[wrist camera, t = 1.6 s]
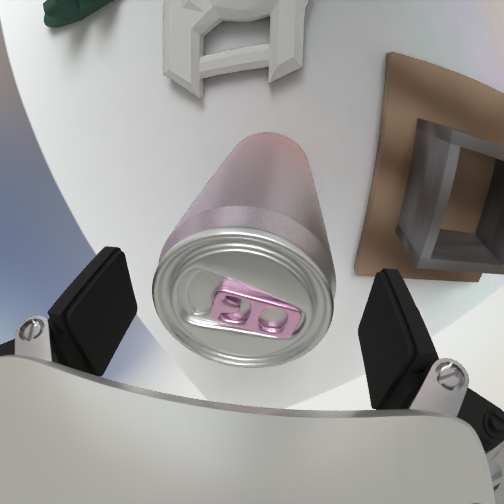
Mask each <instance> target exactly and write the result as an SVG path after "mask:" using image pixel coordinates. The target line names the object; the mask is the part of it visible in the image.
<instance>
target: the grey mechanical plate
mask: <svg viewBox="0 0 504 504" xmlns="http://www.w3.org/2000/svg"><path fill="white" fill-rule="evenodd" d="M308 1H309V0H164V13H163V75H165V76H167V77H168V78H170V79H171V80H173V81H174V82H176V83H177V84H179V85H180V86H182V87H183V88H185V89H186V90H188V91H189V92H191V93H192V94H194V95H195V96H197V97H198V98H202V97H204V96H203V78H207V77H212V76H217V75H222V74H227V73H232V72H238V71H244V70H250V69H257V68H264V67H269V75H268V84H269V83H271V82H273V81H275V80H277V79H279V78H281V77H283V76H285V75H287V74H289V73H291V72H293V71H295V70H297V69H299V68H302V64H303V42H304V14H305V9H306V6H307V4H308ZM267 17H270V43H266V44H259V45H253V46H247V47H242V48H237V49H231V50H227V51H222V52H218V53H213V54H209V55H205V56H203V41H204V36H205V35H206V34H207V33H209V32H210V31H211V30H212V29H213V28H215V27H216V26H217V25H218V24H219V23H221V22H222V21H237V22H251V21H255V20H259V19H263V18H267Z"/></svg>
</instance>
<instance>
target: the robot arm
mask: <svg viewBox="0 0 504 504" xmlns="http://www.w3.org/2000/svg"><path fill="white" fill-rule="evenodd" d="M136 313H137V303H136V299H135V295H134V291H133V288H132V284H131V279H130V275H129V271H128V267H127V262H126V258H125V254H124V252H122V251H121V249H120V248H118V247H104V248H103V249H102V250H101V251H100V252H99V253H98V254H97V255H96V257H95V258H94V259H93V260H92V261H91V262H90V263H89V264H88V265H87V266H86V268H85V269H84V270H83V271H82V272H81V273H80V274H79V275H78V276H77V278H76V279H75V280H74V281H73V282H72V283H71V284H70V286H69V287H68V288H67V289H66V290H65V291H64V293H63V294H62V295H61V296H60V297H59V299H58V300H57V301H56V302H55V303H54V305H53V306H52V307H51V309H50V310H49V311H48V314H49V316H50V318H49V319H48V321H47V320H46V318H45V317H43V316H31V317H29V318H27V319H25V320H24V321H23V322H22V323H21V324H20V325H19V326H18V328H17V330H16V334H15V339H13V340H11V341H8V342H6V343H3V344H1V345H0V504H504V412H503V411H502V410H501V409H500V408H498V407H497V406H495V405H494V404H492V403H491V402H489V401H487V400H486V399H485V398H483V397H481V396H480V395H479V394H477V393H476V392H474V391H472V390H471V389H469V388H468V384H469V378H468V374H467V372H466V370H465V368H464V367H463V366H462V365H461V364H460V363H458V362H457V361H455V360H452V359H448V358H443V359H439V358H438V355H437V352H436V350H435V347H434V345H433V343H432V340H431V338H430V335H429V333H428V331H427V328H426V326H425V324H424V321H423V319H422V317H421V315H420V312H419V310H418V308H417V307H416V305H415V303H414V301H413V299H412V296H411V294H410V292H409V290H408V288H407V286H406V284H405V282H404V280H403V278H402V276H401V274H400V272H399V270H398V269H388V268H383V269H382V270H381V272H377V273H376V275H375V279H374V282H373V285H372V288H371V292H370V295H369V298H368V301H367V304H366V307H365V310H364V313H363V316H362V319H361V322H360V324H359V328H358V336H359V341H360V346H361V351H362V356H363V361H364V366H365V371H366V377H367V382H368V388H369V394H370V400H371V406H372V408H373V409H376V410H360V411H315V410H289V409H288V410H287V409H274V408H262V407H251V406H242V405H233V404H225V403H218V402H211V401H204V400H198V399H192V398H187V397H181V396H176V395H170V394H166V393H161V392H157V391H152V390H148V389H144V388H139V387H135V386H131V385H127V384H123V383H120V382H116V381H112V380H109V379H105V378H102V377H99V376H102V375H103V374H104V372H105V370H106V368H107V366H108V364H109V363H110V360H111V359H112V357H113V355H114V353H115V351H116V349H117V348H118V345H119V344H120V342H121V340H122V338H123V336H124V335H125V333H126V331H127V329H128V327H129V326H130V324H131V322H132V320H133V318H134V317H135V315H136Z"/></svg>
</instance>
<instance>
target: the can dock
mask: <svg viewBox="0 0 504 504" xmlns="http://www.w3.org/2000/svg"><path fill="white" fill-rule="evenodd" d="M354 268H355V272H356V275H363V276H375V275H376V273H377V272H381V270H382V269H383V268H388V269H398V270H399V272H400V274H401V276H402V278H411V279H428V280H446V281H466V282H479V279H480V277H481V275H482V273H491V274H504V94H503V93H501V92H499V91H497V90H495V89H493V88H491V87H489V86H487V85H485V84H482V83H480V82H478V81H476V80H473V79H471V78H469V77H466V76H464V75H461V74H459V73H456V72H454V71H451V70H449V69H446V68H443V67H440V66H437V65H434V64H431V63H428V62H425V61H422V60H419V59H416V58H412V57H409V56H405V55H402V54H398V53H394V52H390V53H387V55H386V74H385V88H384V99H383V109H382V119H381V127H380V135H379V143H378V150H377V157H376V163H375V169H374V175H373V181H372V187H371V192H370V198H369V203H368V208H367V213H366V218H365V223H364V227H363V232H362V236H361V241H360V245H359V249H358V253H357V257H356V262H355V266H354Z"/></svg>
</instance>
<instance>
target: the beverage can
mask: <svg viewBox="0 0 504 504" xmlns="http://www.w3.org/2000/svg"><path fill="white" fill-rule="evenodd" d="M335 292H336V275H335V270H334V265H333V260H332V256H331V251H330V247H329V242H328V238H327V233H326V229H325V225H324V221H323V217H322V213H321V209H320V205H319V201H318V197H317V193H316V189H315V185H314V182H313V178H312V174H311V171H310V167H309V163H308V160H307V157H306V155H305V154H304V152H303V150H302V149H301V148H300V147H299V146H298V144H296V143H295V142H294V141H293V140H291V139H290V138H288V137H286V136H284V135H281V134H277V133H271V132H264V133H257V134H254V135H251V136H249V137H247V138H245V139H244V140H242V141H241V142H240V143H239V144H238V145H237V146H236V147H235V148H234V149H233V151H232V152H231V153H230V154H229V156H228V157H227V158H226V160H225V161H224V162H223V163H222V165H221V166H220V167H219V169H218V170H217V171H216V173H215V174H214V175H213V177H212V178H211V179H210V181H209V182H208V183H207V185H206V186H205V187H204V189H203V190H202V191H201V193H200V194H199V195H198V197H197V198H196V199H195V201H194V202H193V204H192V205H191V206H190V208H189V209H188V211H187V212H186V213H185V215H184V216H183V218H182V219H181V220H180V222H179V223H178V225H177V226H176V228H175V229H174V230H173V232H172V233H171V235H170V236H169V238H168V239H167V241H166V243H165V244H164V247H163V249H162V251H161V254H160V258H159V265H158V267H157V269H156V272H155V275H154V279H153V285H152V296H153V302H154V306H155V309H156V312H157V314H158V316H159V318H160V320H161V322H162V323H163V325H164V326H165V328H166V329H167V330H168V331H169V333H170V334H171V335H172V336H173V337H174V338H175V339H176V340H178V341H179V342H180V343H181V344H182V345H184V346H185V347H186V348H188V349H189V350H191V351H193V352H194V353H196V354H198V355H200V356H202V357H204V358H207V359H209V360H212V361H215V362H218V363H221V364H225V365H230V366H235V367H244V368H261V367H270V366H276V365H280V364H283V363H287V362H290V361H292V360H294V359H297V358H299V357H301V356H302V355H304V354H306V353H307V352H309V351H310V350H311V349H312V348H314V347H315V346H316V345H317V344H318V343H319V342H320V341H321V339H322V338H323V337H324V335H325V334H326V332H327V330H328V328H329V326H330V324H331V321H332V317H333V310H334V297H335Z"/></svg>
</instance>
